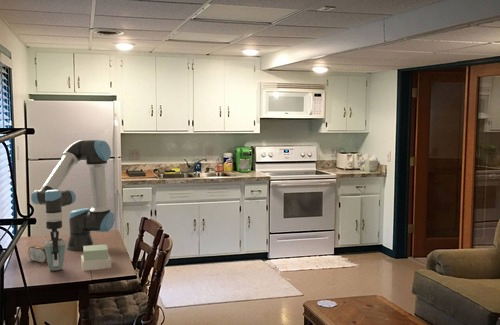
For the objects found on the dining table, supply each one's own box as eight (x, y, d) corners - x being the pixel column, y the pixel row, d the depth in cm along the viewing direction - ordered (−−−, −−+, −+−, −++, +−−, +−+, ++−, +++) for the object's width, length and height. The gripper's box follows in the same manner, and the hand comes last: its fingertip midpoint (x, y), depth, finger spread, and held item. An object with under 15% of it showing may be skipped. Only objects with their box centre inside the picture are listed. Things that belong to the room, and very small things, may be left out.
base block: (81, 264, 274) (80, 255, 274) (108, 261, 279) (108, 252, 279) (83, 271, 261) (82, 261, 261) (111, 268, 266) (111, 259, 266)
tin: (50, 263, 276) (50, 247, 275) (45, 264, 273) (45, 248, 272) (32, 259, 283) (31, 244, 283) (27, 260, 281) (26, 245, 280)
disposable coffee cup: (44, 272, 256) (43, 243, 255) (44, 267, 266) (43, 238, 265) (67, 270, 260) (66, 241, 259) (66, 264, 270) (65, 236, 269)
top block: (83, 255, 274) (83, 246, 273) (106, 253, 278) (106, 244, 277) (83, 261, 262) (83, 251, 262) (108, 259, 266) (107, 249, 266)
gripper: (45, 216, 270) (47, 257, 272) (46, 225, 249) (48, 270, 251) (61, 215, 273) (62, 256, 275) (62, 224, 251) (64, 268, 253)
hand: (55, 262), depth 263 cm, fingers closed on disposable coffee cup, 11 cm apart
